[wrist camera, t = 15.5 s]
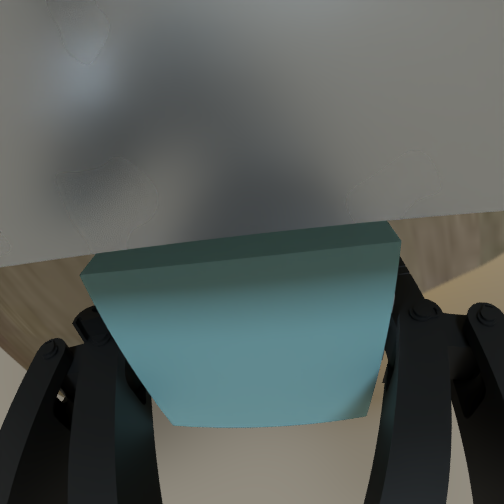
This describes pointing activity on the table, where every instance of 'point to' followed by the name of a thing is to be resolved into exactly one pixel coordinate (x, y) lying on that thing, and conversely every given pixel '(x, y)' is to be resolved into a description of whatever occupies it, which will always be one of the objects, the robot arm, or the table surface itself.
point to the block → (254, 322)
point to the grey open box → (241, 118)
